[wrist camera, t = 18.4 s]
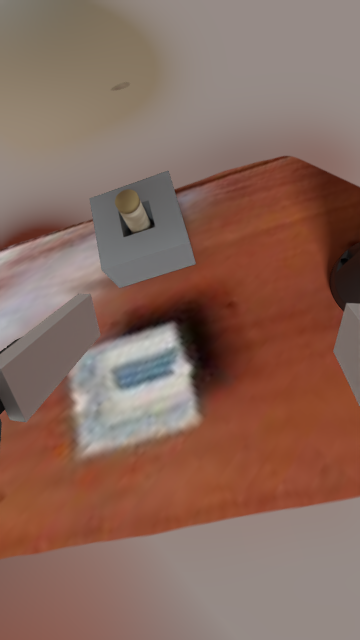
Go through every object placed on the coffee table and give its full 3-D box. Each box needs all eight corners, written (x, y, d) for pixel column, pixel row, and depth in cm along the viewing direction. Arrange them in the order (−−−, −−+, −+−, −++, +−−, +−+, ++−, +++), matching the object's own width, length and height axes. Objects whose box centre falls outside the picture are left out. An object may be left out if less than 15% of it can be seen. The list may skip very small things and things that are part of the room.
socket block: (176, 200, 58) (168, 170, 50) (195, 264, 53) (189, 241, 45) (107, 223, 60) (89, 198, 52) (119, 287, 55) (101, 270, 47)
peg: (155, 229, 56) (135, 186, 44) (159, 245, 54) (140, 205, 43) (137, 235, 56) (112, 194, 45) (140, 251, 55) (117, 213, 43)
